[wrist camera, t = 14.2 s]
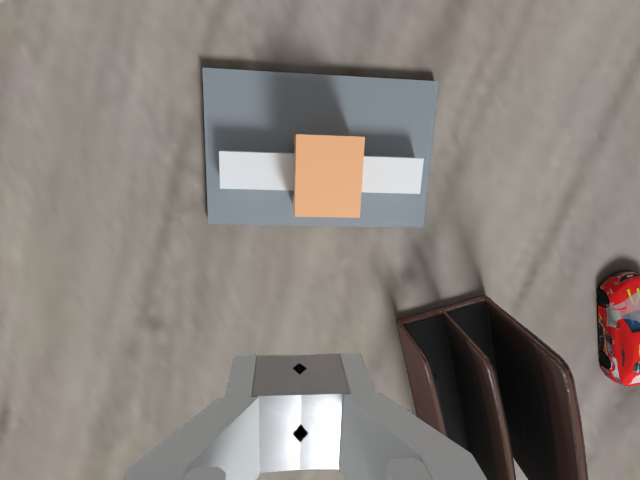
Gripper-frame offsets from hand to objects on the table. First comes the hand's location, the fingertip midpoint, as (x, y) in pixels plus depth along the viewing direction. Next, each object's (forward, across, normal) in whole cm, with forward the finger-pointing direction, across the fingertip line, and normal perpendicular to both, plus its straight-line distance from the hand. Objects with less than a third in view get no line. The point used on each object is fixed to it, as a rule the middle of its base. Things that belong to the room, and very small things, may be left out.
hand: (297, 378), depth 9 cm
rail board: (+27, -3, -4) cm, 28 cm away
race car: (+28, -37, +13) cm, 48 cm away
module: (+26, -3, -3) cm, 26 cm away
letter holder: (+28, -19, +20) cm, 39 cm away
